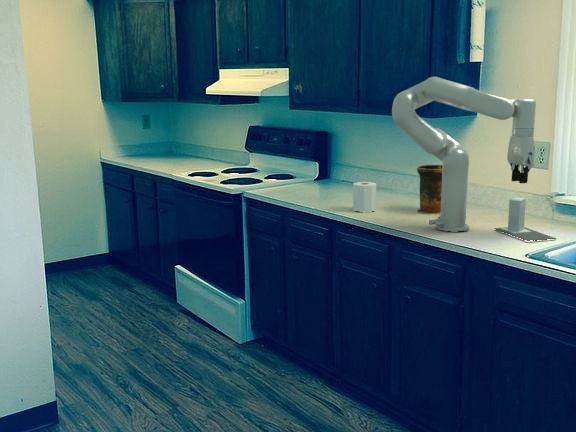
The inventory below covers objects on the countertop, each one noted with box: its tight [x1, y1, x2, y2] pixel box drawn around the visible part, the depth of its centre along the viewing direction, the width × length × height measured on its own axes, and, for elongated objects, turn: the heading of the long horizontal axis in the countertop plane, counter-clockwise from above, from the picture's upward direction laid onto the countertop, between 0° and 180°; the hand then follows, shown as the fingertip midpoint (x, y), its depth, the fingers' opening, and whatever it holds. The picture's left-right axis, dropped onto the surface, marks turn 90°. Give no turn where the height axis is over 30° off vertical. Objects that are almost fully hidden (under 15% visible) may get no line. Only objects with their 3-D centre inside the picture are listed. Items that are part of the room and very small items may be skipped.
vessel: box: [416, 164, 442, 215], centre depth 273 cm, size 14×14×20 cm
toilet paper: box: [352, 181, 377, 213], centre depth 277 cm, size 10×10×12 cm
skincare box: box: [507, 196, 527, 232], centre depth 237 cm, size 6×4×12 cm
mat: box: [494, 226, 557, 241], centre depth 234 cm, size 12×20×1 cm, turn 16°
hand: (519, 181), depth 235 cm, fingers open, 3 cm apart
